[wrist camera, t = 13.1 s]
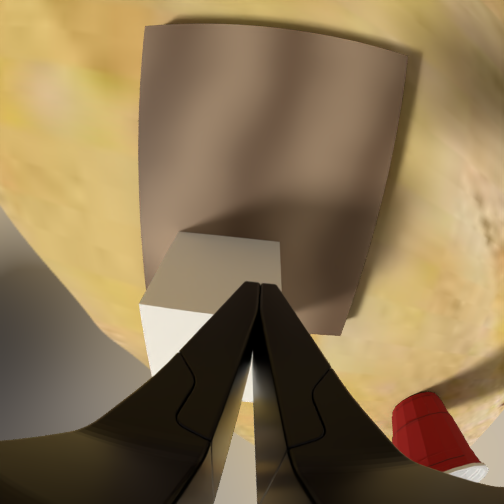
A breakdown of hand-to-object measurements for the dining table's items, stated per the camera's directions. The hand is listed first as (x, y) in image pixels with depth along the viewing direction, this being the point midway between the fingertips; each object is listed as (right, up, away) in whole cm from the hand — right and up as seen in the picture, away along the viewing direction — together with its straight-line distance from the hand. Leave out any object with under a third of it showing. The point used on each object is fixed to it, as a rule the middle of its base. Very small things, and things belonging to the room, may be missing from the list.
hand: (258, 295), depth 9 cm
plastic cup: (+18, -16, +21) cm, 32 cm away
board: (0, +5, +10) cm, 11 cm away
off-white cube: (-2, -1, +12) cm, 12 cm away
